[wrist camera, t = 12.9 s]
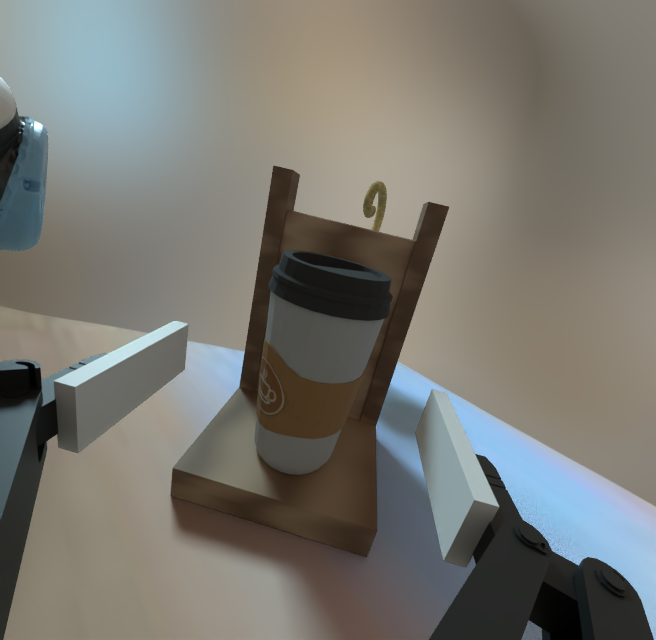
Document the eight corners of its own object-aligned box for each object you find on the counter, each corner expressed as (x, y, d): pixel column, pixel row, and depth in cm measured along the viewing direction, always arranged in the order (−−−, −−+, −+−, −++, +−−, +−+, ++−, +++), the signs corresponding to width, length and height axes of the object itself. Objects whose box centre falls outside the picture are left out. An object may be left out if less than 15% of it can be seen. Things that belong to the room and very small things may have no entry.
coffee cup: (226, 421, 26) (255, 241, 21) (311, 406, 30) (350, 257, 26) (263, 506, 19) (315, 276, 15) (363, 470, 24) (426, 288, 19)
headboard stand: (170, 495, 21) (200, 122, 14) (245, 395, 34) (282, 170, 26) (366, 556, 20) (508, 193, 13) (369, 430, 33) (442, 208, 26)
